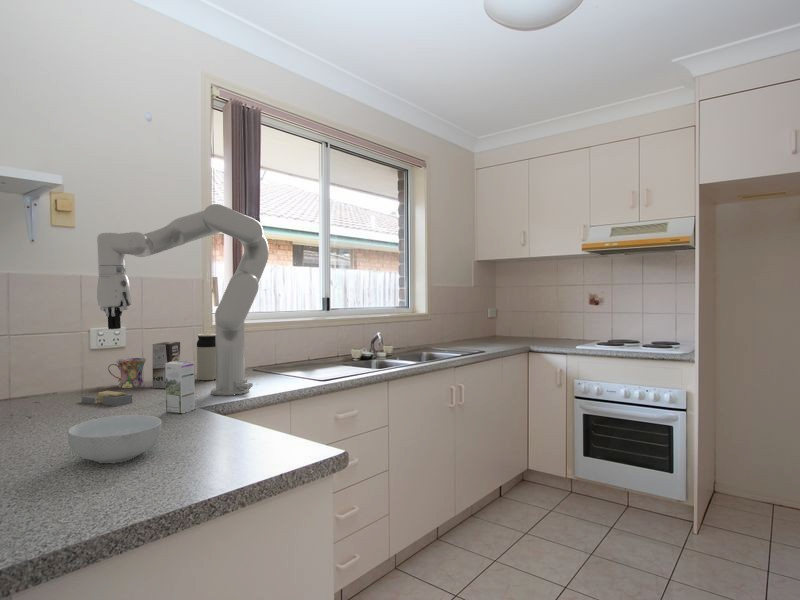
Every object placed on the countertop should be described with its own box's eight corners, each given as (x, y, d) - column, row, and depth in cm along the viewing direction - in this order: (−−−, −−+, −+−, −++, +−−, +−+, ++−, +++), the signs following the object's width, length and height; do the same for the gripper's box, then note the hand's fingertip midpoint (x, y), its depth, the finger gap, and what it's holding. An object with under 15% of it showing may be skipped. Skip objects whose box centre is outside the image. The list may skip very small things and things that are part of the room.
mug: (147, 385, 182) (147, 357, 182) (144, 390, 173) (144, 360, 173) (111, 388, 178) (110, 358, 178) (105, 392, 169) (105, 362, 169)
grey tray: (158, 400, 157) (158, 388, 157) (85, 417, 135) (85, 404, 135) (126, 396, 163) (126, 385, 163) (50, 412, 141) (50, 399, 141)
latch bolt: (125, 402, 148) (125, 392, 148) (116, 404, 145) (116, 394, 145) (107, 400, 151) (107, 390, 151) (98, 402, 148) (98, 392, 148)
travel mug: (198, 381, 191) (198, 335, 190) (195, 378, 197) (195, 333, 197) (219, 379, 195) (219, 334, 194) (216, 376, 201) (216, 333, 201)
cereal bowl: (59, 477, 92) (58, 439, 91) (77, 451, 107) (77, 418, 107) (160, 464, 98) (159, 429, 98) (163, 441, 114) (163, 411, 113)
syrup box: (195, 409, 144) (195, 360, 144) (180, 414, 139) (180, 363, 139) (180, 408, 146) (180, 359, 146) (164, 412, 141) (164, 362, 141)
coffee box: (169, 388, 177) (169, 343, 177) (151, 388, 177) (151, 343, 177) (181, 383, 186) (181, 341, 186) (164, 383, 186) (164, 341, 186)
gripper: (139, 271, 158) (141, 328, 158) (106, 272, 163) (108, 327, 164) (118, 270, 151) (120, 330, 151) (84, 272, 156) (87, 329, 157)
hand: (114, 328), depth 158 cm, fingers closed
